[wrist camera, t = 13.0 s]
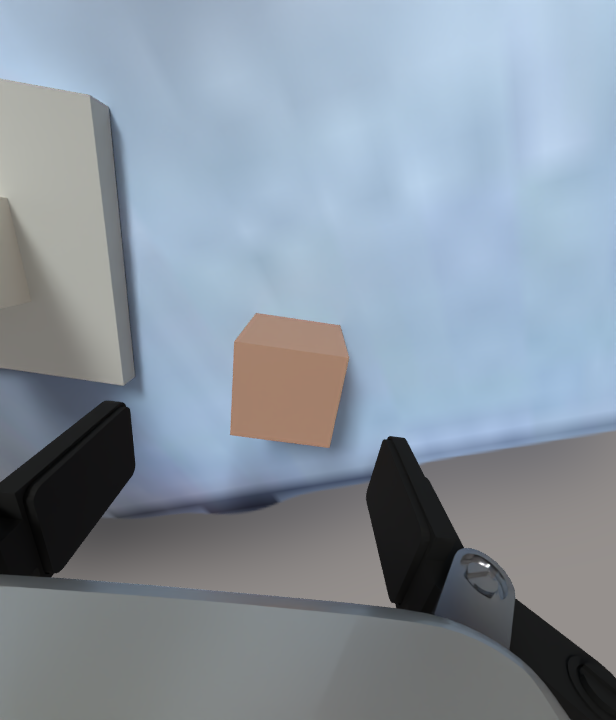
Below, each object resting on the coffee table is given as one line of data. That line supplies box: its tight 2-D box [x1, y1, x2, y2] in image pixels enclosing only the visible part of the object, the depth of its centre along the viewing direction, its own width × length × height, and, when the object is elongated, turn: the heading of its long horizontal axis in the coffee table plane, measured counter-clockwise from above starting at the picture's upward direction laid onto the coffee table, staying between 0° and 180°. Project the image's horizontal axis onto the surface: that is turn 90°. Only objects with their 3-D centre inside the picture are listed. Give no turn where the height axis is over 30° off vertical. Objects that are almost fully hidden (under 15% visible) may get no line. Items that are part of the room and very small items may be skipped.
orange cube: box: [230, 313, 349, 448], centre depth 16 cm, size 5×5×5 cm
